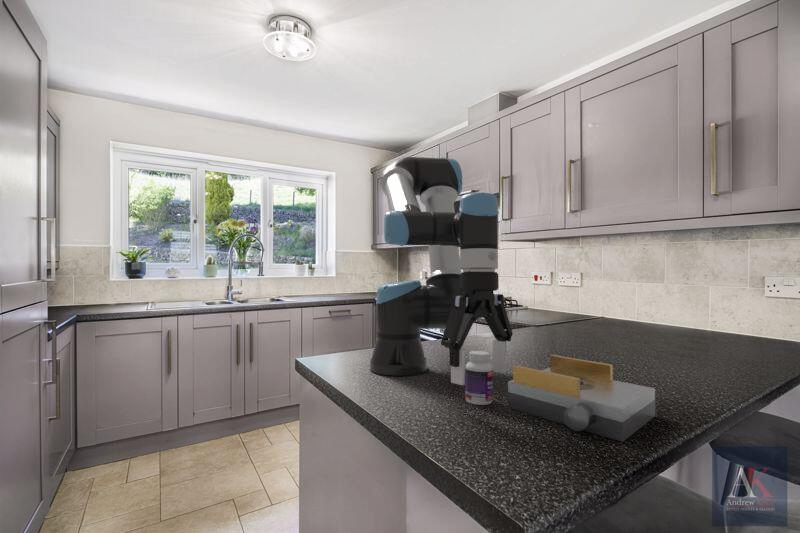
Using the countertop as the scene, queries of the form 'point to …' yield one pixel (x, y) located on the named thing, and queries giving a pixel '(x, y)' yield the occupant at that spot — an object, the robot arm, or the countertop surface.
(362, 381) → the countertop surface
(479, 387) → the pill bottle
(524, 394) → the grey clamp fixture
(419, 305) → the robot arm
